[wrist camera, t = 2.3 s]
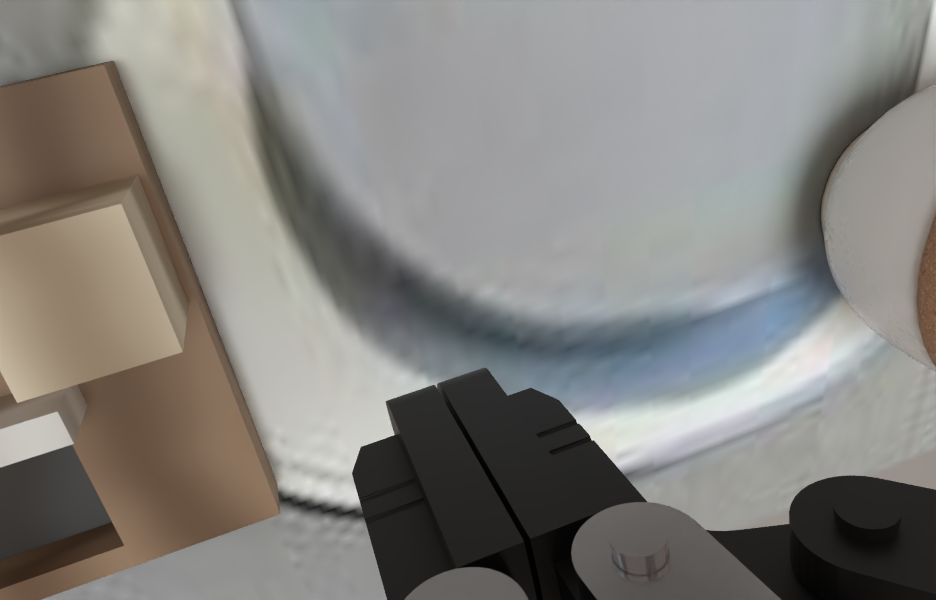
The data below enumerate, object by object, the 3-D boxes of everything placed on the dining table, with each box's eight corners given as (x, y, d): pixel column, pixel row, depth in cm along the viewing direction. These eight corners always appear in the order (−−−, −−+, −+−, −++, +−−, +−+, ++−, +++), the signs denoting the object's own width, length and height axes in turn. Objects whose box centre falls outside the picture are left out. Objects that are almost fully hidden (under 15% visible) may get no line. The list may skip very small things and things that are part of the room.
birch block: (137, 173, 23) (121, 203, 19) (188, 302, 25) (182, 352, 21) (-18, 213, 22) (-64, 252, 18) (48, 344, 24) (17, 402, 20)
